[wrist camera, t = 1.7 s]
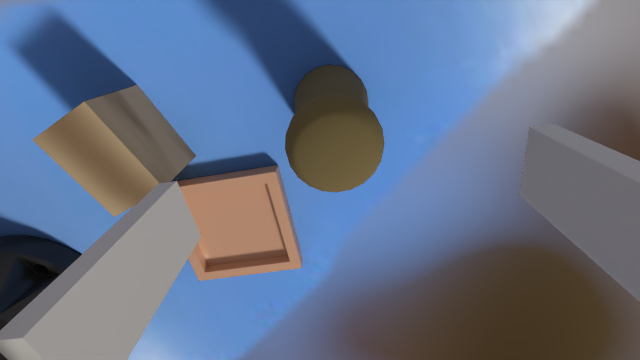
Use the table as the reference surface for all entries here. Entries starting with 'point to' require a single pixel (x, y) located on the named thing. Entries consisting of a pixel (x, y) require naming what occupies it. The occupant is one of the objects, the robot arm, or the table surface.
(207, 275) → the terracotta dish
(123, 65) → the table surface
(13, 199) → the table surface
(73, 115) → the oak block
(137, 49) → the table surface
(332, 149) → the cork
